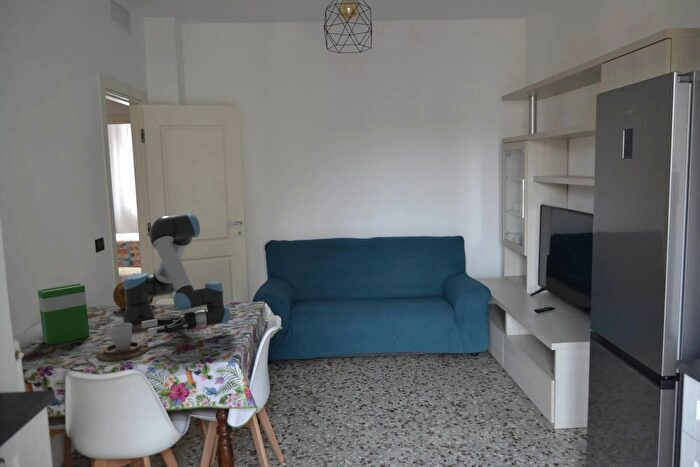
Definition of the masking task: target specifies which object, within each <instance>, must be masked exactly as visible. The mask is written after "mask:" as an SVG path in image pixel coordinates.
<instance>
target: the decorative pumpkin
mask: <svg viewBox="0 0 700 467" xmlns="http://www.w3.org/2000/svg"><path fill="white" fill-rule="evenodd" d="M134 274H135V273H133V274H132V275H134ZM112 294H113V295H112V296H113V301H114V304H115V305H116V306H117V308H120V309H121V310H125V308H126V303H125V292H124V280H122V281H121V282H119V283H118V284H117V285H116V286H115V288H114V290H113V293H112ZM153 300H154V297H151V298H150V304H153Z"/></svg>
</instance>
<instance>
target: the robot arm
mask: <svg viewBox="0 0 700 467" xmlns="http://www.w3.org/2000/svg"><path fill="white" fill-rule="evenodd" d="M200 234H201V226H200V221H199V219H198V217H197V216H196V215H195V214H193V213H181V214H173V215H172V214H171V215H164V216H160V217H158V218H157V219H156V220H154V222H153V223H152V224H151V228H150V231H149V239H150V243H151V246H152V247H153V249H155V250H156V251H157V253H158V255H159V258H160V261H161V262H160V265H159V266H158V267H156V269H155V270H154V273H153V274H152V273H151V274H148V273H146V272H140V273H139V272H138V273H133V274H134V275H133V274H131V275H128V276H126V277H125V279H123V281H124V292H125V303H126V308H125V309H124V313H123V319H122V320H123V322H122V323H131V324H132V325H138V324H139V325H140V324H141V328H142V329H146V328H147V335H148V337H149V336H155V335H159V334H160V335H161V334H169V335H170V334H172V333H175V332H178V331H181V330H185V329H186V330H194V329H195V328H200V329H203V328H204V327H208V326H216V325H221V324H225V323H228V322H229V321H230V320H231V313H230V308H229V307H228V305H224V289H223V283H222V282H220V281H217V280H215V281H208V282H205V284H204V288H203V287H202V288H198V289H194V287H193V286H192V283H191V281H190V278H189V276H188V273H187V272H186V269H185V267H184V265H183V263H182V258H183V255H184V252H185V251H186V250H185V249H186V247H187V246H188V245H190V244H191V243H192V240H193V238H197V237H199V236H200ZM174 293H175V294H174ZM171 294H174V295H173V297H172V300H173V305H174V307H175V309H176V310H177V311H184V310H190V309H193V308H197V307H203V306H206V309H199V310H195V311H188V312H185V313H184V315H183V317H181V315H176V316H175V315H174V316H163V317H161V316H160V317H157V318H156V315H155V311H154V309H153V307H152V305H151V304H152V303H151V304H150V298H151V297H153V298H154V297H160V296H166V295H171ZM161 325H162V326H161ZM151 327H152V328H151Z"/></svg>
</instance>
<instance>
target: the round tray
mask: <svg viewBox="0 0 700 467" xmlns="http://www.w3.org/2000/svg"><path fill="white" fill-rule="evenodd" d="M148 351H149V345H148V344H147V343H143V342H140V341H137V340H135V341H132V340H131V345H130V348H129V349H126V350H117V348H116V346H115V344H114V343H112V344H109V345H107V346H105V347H104V348H102V349H100V350H99V351H98V352H96V358H97V359H98V360H99V361H104V362H118V361H124V360H130V359H133V358H137V357H139V356H142V355H143V354H146V353H147V352H148Z"/></svg>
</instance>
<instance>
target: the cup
mask: <svg viewBox="0 0 700 467" xmlns="http://www.w3.org/2000/svg"><path fill="white" fill-rule="evenodd" d="M110 330H111V336H112V339H113V344H115V346H116V348H117V350H126V349H129V348H130V345H131V341H132V338H133V324H131V323H124V322H120V323H114V324H112V325H111V326H110Z"/></svg>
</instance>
